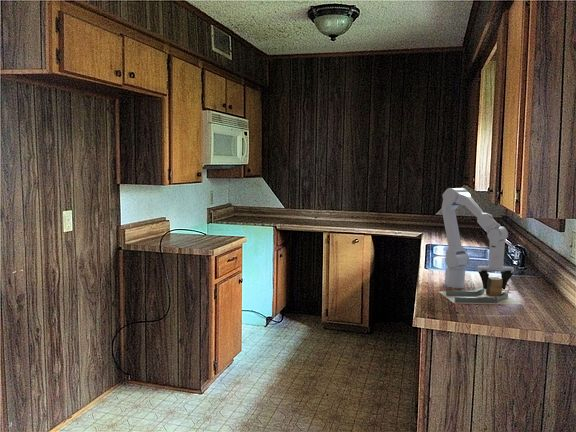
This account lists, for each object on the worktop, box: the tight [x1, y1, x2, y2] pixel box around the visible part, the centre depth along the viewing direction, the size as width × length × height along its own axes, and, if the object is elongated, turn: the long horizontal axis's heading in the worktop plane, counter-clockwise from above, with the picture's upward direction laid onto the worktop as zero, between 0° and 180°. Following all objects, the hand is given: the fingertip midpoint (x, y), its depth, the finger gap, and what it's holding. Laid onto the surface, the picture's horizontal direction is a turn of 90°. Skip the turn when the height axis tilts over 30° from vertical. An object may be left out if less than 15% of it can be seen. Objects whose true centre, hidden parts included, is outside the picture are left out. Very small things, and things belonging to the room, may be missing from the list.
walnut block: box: [485, 276, 503, 296], centre depth 206 cm, size 4×4×7 cm
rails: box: [445, 287, 509, 304], centre depth 203 cm, size 16×25×2 cm, turn 92°
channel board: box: [438, 290, 523, 307], centre depth 203 cm, size 18×27×1 cm, turn 92°
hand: (494, 288), depth 207 cm, fingers open, 7 cm apart
